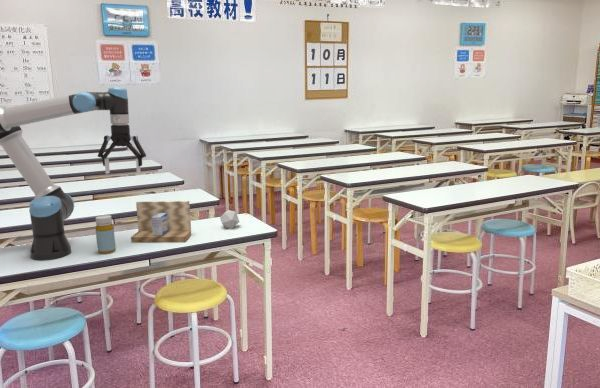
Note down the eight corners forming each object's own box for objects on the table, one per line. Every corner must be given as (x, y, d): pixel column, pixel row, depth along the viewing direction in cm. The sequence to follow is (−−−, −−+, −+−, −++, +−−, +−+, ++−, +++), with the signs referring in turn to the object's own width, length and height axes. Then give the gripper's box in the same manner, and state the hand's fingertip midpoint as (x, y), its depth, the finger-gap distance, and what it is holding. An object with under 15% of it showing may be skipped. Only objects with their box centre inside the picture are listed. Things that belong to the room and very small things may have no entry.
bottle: (117, 248, 217) (113, 214, 214) (114, 253, 210) (110, 218, 207) (99, 249, 216) (96, 215, 213) (96, 254, 209) (92, 219, 206)
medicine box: (162, 236, 225) (160, 217, 223) (152, 235, 226) (151, 217, 224) (168, 231, 233) (167, 212, 231) (159, 231, 233) (157, 212, 231)
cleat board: (131, 242, 225) (128, 207, 221) (139, 235, 236) (137, 201, 233) (185, 242, 224) (183, 206, 221) (191, 234, 235) (189, 201, 232)
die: (225, 225, 253) (214, 212, 246) (240, 216, 252) (230, 203, 246) (228, 235, 246) (218, 222, 240) (244, 226, 246) (234, 212, 240)
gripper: (87, 124, 214) (91, 174, 218) (146, 125, 213) (148, 175, 217) (94, 123, 221) (98, 171, 225) (151, 124, 221) (154, 172, 225)
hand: (123, 173), depth 221 cm, fingers open, 13 cm apart
